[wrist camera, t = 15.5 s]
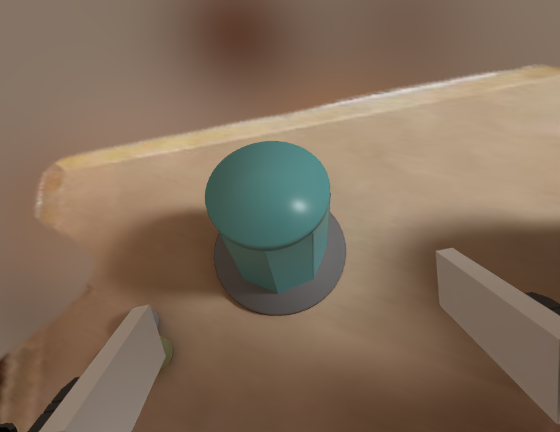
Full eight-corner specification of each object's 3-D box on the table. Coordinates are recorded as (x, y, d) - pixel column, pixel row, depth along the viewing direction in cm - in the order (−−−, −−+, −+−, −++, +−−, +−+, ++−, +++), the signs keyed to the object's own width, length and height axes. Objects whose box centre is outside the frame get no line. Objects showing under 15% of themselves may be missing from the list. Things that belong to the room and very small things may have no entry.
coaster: (280, 176, 41) (280, 173, 41) (373, 247, 36) (374, 244, 35) (190, 252, 37) (188, 250, 37) (278, 347, 31) (277, 346, 31)
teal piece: (338, 224, 37) (347, 158, 27) (305, 308, 32) (301, 264, 23) (258, 198, 39) (239, 129, 30) (217, 272, 35) (181, 219, 26)
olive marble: (165, 332, 33) (153, 325, 30) (183, 355, 32) (172, 350, 29) (140, 355, 32) (125, 350, 30) (157, 380, 31) (143, 377, 28)
